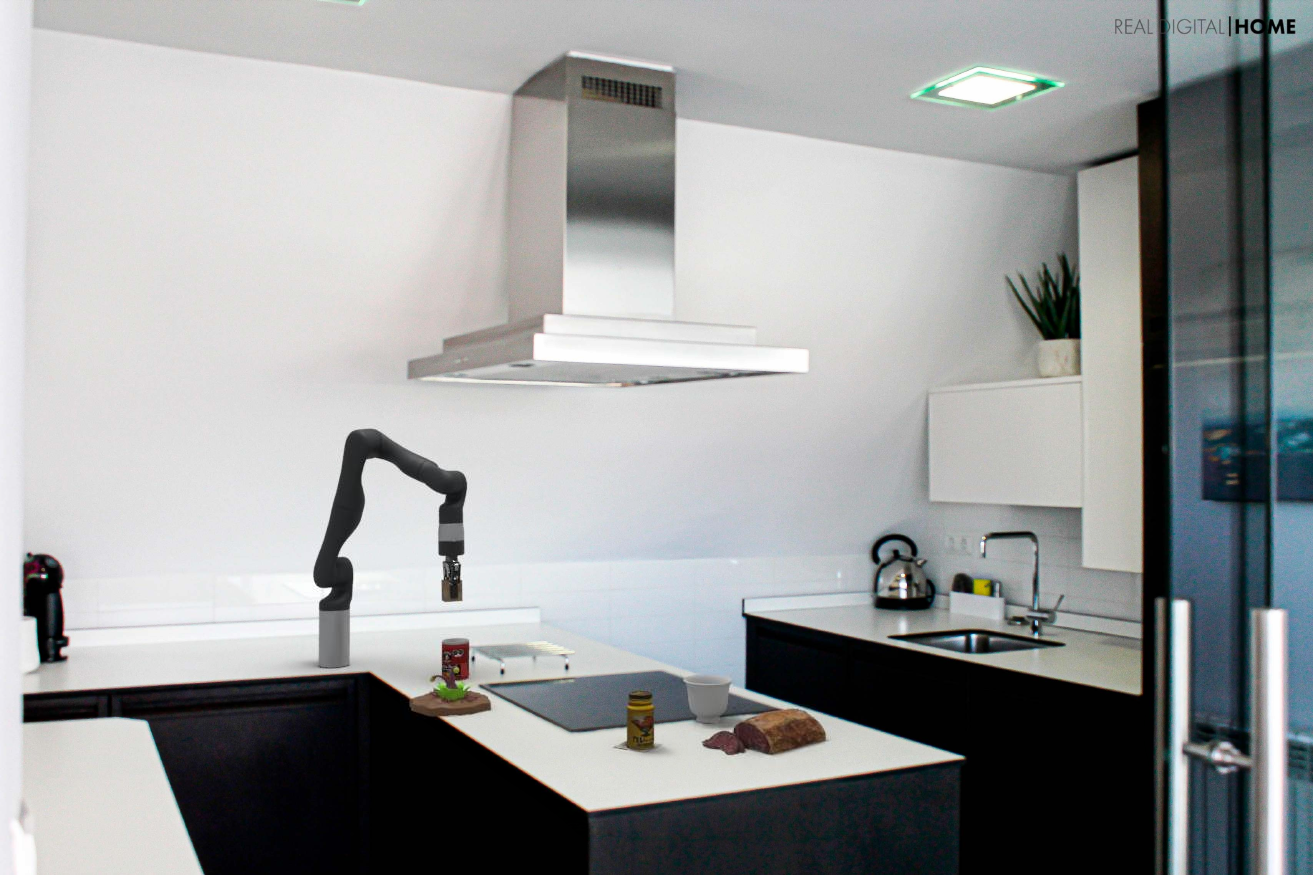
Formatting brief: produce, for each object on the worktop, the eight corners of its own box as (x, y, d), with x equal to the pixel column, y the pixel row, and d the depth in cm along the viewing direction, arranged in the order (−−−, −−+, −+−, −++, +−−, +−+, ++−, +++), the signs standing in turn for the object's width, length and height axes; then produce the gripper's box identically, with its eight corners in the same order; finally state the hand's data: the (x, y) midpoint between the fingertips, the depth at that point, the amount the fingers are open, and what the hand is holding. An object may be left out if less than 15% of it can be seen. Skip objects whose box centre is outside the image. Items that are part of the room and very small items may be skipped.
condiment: (646, 752, 238) (646, 697, 239) (612, 747, 242) (612, 693, 243) (662, 744, 245) (662, 690, 245) (629, 740, 249) (629, 687, 249)
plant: (427, 720, 268) (427, 674, 269) (401, 705, 285) (401, 662, 285) (503, 711, 279) (503, 666, 279) (473, 697, 295) (473, 655, 296)
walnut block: (441, 600, 321) (441, 579, 321) (458, 599, 323) (458, 578, 323) (445, 601, 317) (444, 581, 317) (462, 600, 319) (462, 580, 319)
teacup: (715, 710, 278) (715, 670, 278) (741, 723, 264) (741, 681, 265) (671, 714, 274) (671, 674, 274) (695, 727, 260) (695, 685, 260)
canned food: (436, 679, 318) (436, 641, 318) (453, 674, 325) (453, 637, 325) (457, 681, 314) (457, 643, 314) (474, 676, 321) (474, 639, 321)
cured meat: (692, 747, 244) (693, 716, 244) (764, 727, 261) (764, 698, 261) (755, 764, 231) (756, 732, 231) (826, 743, 249) (826, 712, 249)
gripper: (433, 538, 326) (434, 595, 325) (443, 540, 312) (444, 600, 312) (458, 537, 329) (459, 594, 328) (469, 539, 315) (470, 599, 315)
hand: (452, 597), depth 320 cm, fingers closed on walnut block, 5 cm apart
